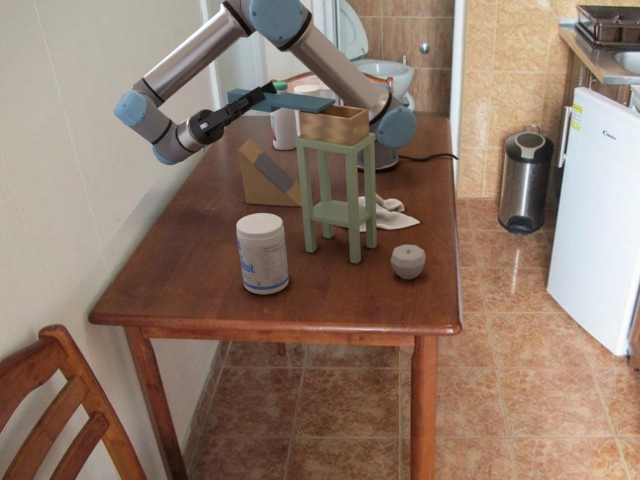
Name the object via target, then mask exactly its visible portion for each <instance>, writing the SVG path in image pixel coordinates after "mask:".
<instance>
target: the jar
mask: <svg viewBox="0 0 640 480" xmlns="http://www.w3.org/2000/svg"><path fill="white" fill-rule="evenodd" d="M320 89H321V88H320V86H318V85H315V84H301V85H297V86H295V87H293V94H300V95H307V96H314V97H321V98H323V97H322V95H321V91H320ZM299 111H300V110H295V118H296V128H297V137H298V136H300V134H301V133H300V123H299Z"/></svg>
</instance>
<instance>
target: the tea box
mask: <svg viewBox="0 0 640 480" xmlns="http://www.w3.org/2000/svg"><path fill="white" fill-rule="evenodd" d="M299 123H300V133H301V134H300V135H301V137H303V138H309V139H314V140H320V141H326V142H332V143H338V144H344V145H349V146H353V145H354V144H356V143H357V142H359V141H360V140H362V139H363V138H365V137H367V136H368V135H369V110H368V109H361V108H355V107H349V106H348V105H340V104H333V105H331V106H329V107H327V108H325V109H323V110H322V111H320V112H318V113H313V112H307V111H299Z"/></svg>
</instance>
